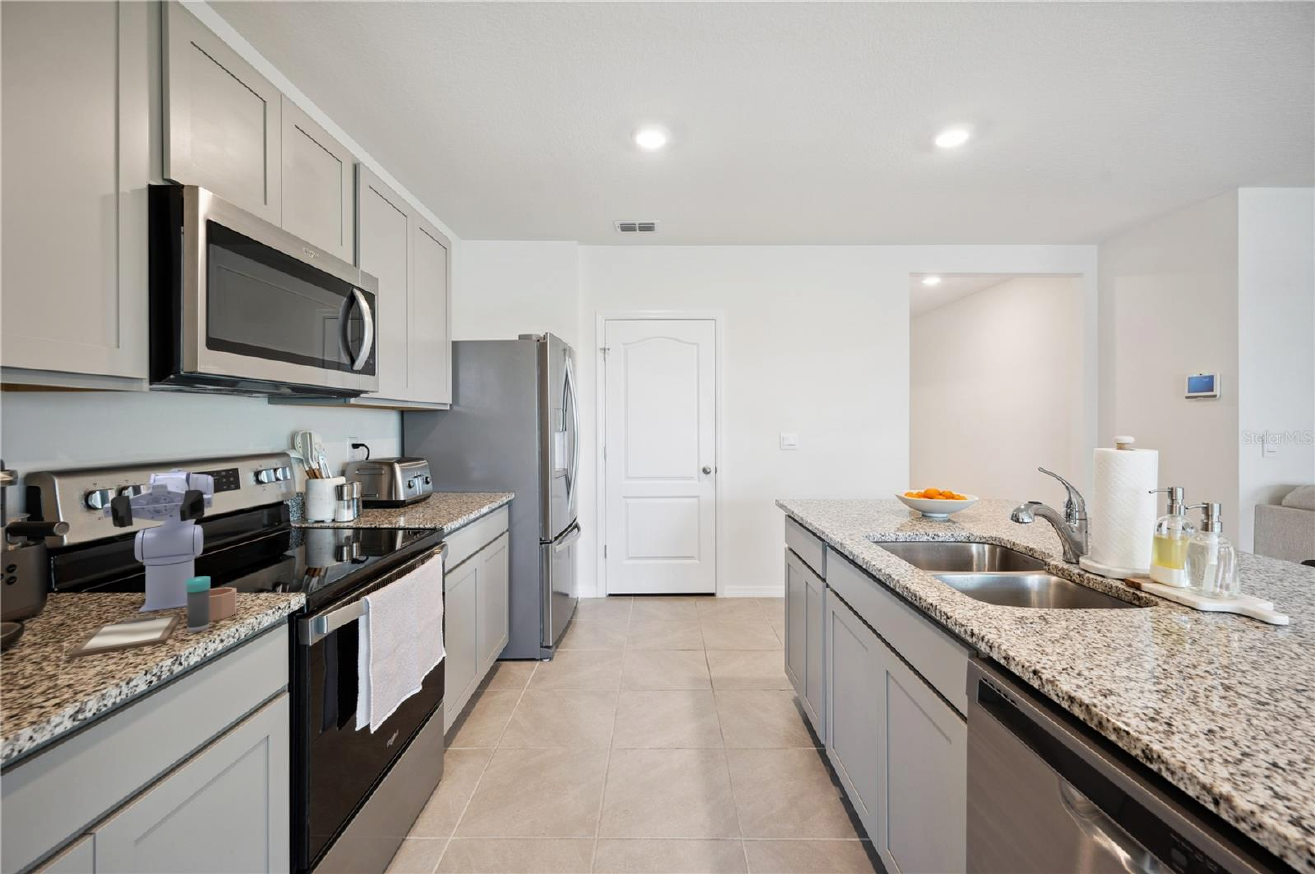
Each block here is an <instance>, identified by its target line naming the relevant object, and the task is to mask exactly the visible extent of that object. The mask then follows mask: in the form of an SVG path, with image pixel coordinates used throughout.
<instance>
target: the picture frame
mask: <svg viewBox="0 0 1315 874" xmlns="http://www.w3.org/2000/svg"><path fill="white" fill-rule="evenodd" d="M182 617H183V614H178V615H169V616H163V617H157V615H150V616H149V615H148V616H142V617H133V618H126V619H125V620H124V621H123V622H121V623H119V622H118V623H113V624H105V625H99V626H97V627H96V628H95V629H94V630H93V631H92V632H91V633H90V634H89V635H88V636H87V637H86V638H85V639H84V640H82V642H80V643H79V644H78V645H77V646H76V647H75V648H74V649H73V650H71V652H69V654H68V659H72V658H80V657H85V656H93V655H97V654H103V653H110V652H116V651H123V650H129V649H135V648H141V647H142V648H143V647H147V646H153V645H154V646H155V645H160V644H165V643H167V641H168V639H169V638H170V636H171V635H172V634H171V633H174V631H175V629H176V627H177V626H178V625H179V623H180V622H181V620H182Z"/></svg>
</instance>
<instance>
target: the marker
mask: <svg viewBox="0 0 1315 874" xmlns="http://www.w3.org/2000/svg"><path fill="white" fill-rule="evenodd" d="M209 589H211V576H206V575H204V576H202V575H201V576H194V578H190V579H187V580H186V592H187V606H186V632H187V633H199V632H203V631H206V630H208V629H210V621H209Z"/></svg>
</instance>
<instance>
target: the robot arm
mask: <svg viewBox="0 0 1315 874" xmlns="http://www.w3.org/2000/svg"><path fill="white" fill-rule="evenodd" d="M214 482H215V481H214V477H213V476H211V475H208V474H201V473H200V474H198V473H193V472H192V471H188V472H186V471H183V468H172V469H171V470H169V471H168V472H158V473H153V472H152V473H151V474H150V477H149V481H148V487H147V488H148V490H147V491H145V492H142V493H140V494H137V495H134V496H130V495H117V496H113V498H111V499H110V503H105V504H104V505H103V507H102V511H103V512H102V513H103V518H104V519H106V518H112V519H111V520H112V521H111V522H112V525H113V526H114V528H120V529H121V528H122V529H123V528H127V527H133V526H134V521H133V519H138V520H146V521H153V522H163V524H162V525H160V526H155V527H151V528H150V527H149V528H146V529H140V530H139V531H138V532H137V533H136V534H135V539H134V556H135V559H136V560H137V561H139V562H140V563H143V564H142V565H143V566H145V603H144V604H143V605H142V606H141V607H140V609H138V613H146V612H147V613H148V612H154V611H155V610H156V611H163V610H169V609H177V608H185V607H186V608H187V592H186V580H187V579H190V578H194V577H195V558H196V557H199V556H200V555H201V554H202V553H203V549H204V529H203V528H202V525H199V524H195V522H196V520H200V519H202V518H204V517H205V510H207V509H208V508H212V507H213V504H214V502H213V501H214V493H215V491H214V490H215V487H214V485H215V483H214Z"/></svg>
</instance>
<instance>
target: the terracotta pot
mask: <svg viewBox="0 0 1315 874" xmlns="http://www.w3.org/2000/svg"><path fill="white" fill-rule="evenodd" d="M237 595H238V594H237V587H227V586H224V587H219V588H218V587H216V588H210V589H209V622H213V621H221V620H220V619H222V620H224V619H227V618H230V617H233V616H235V615H236V614H237V609H238V607H237V598H238V597H237ZM234 614H235V615H234ZM232 615H233V616H232Z"/></svg>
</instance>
